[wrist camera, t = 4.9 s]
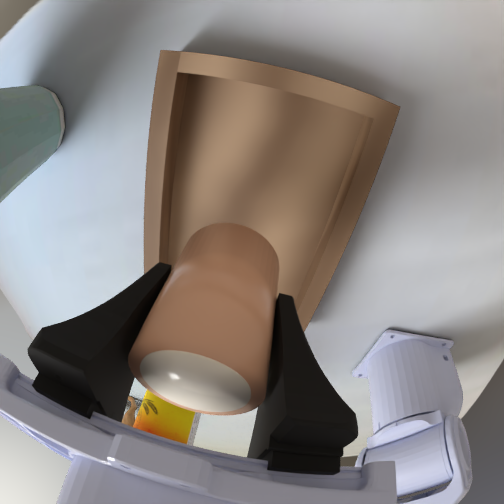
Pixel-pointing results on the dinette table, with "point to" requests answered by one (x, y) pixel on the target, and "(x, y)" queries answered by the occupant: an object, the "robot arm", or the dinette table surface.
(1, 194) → the disposable coffee cup
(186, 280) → the tan and white cylinder
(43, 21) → the dinette table surface
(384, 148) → the tray
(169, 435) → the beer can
